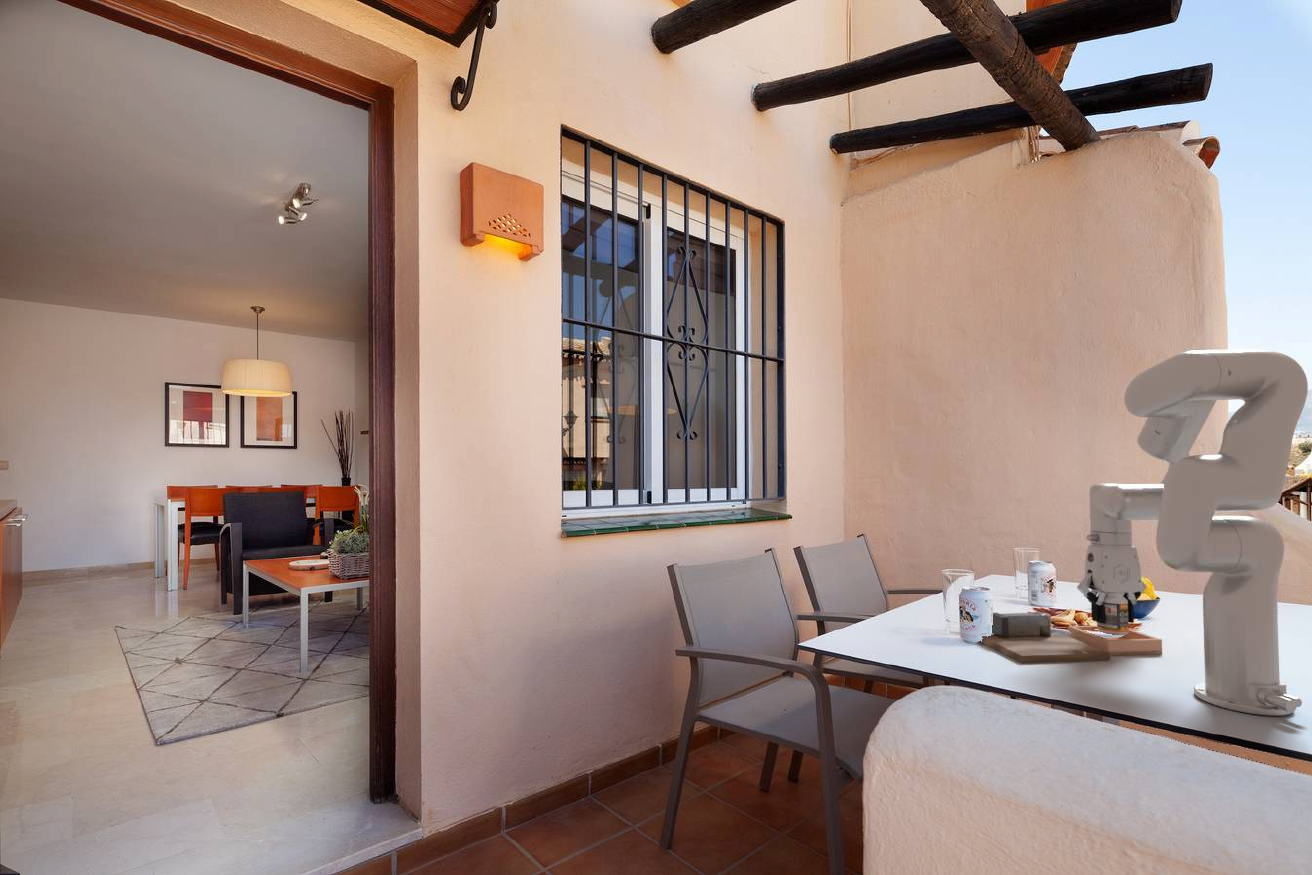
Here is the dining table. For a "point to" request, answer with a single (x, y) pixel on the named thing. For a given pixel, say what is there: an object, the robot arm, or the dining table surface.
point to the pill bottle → (1115, 615)
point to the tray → (1118, 642)
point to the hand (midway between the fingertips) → (1112, 620)
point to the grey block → (1021, 624)
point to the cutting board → (1045, 648)
